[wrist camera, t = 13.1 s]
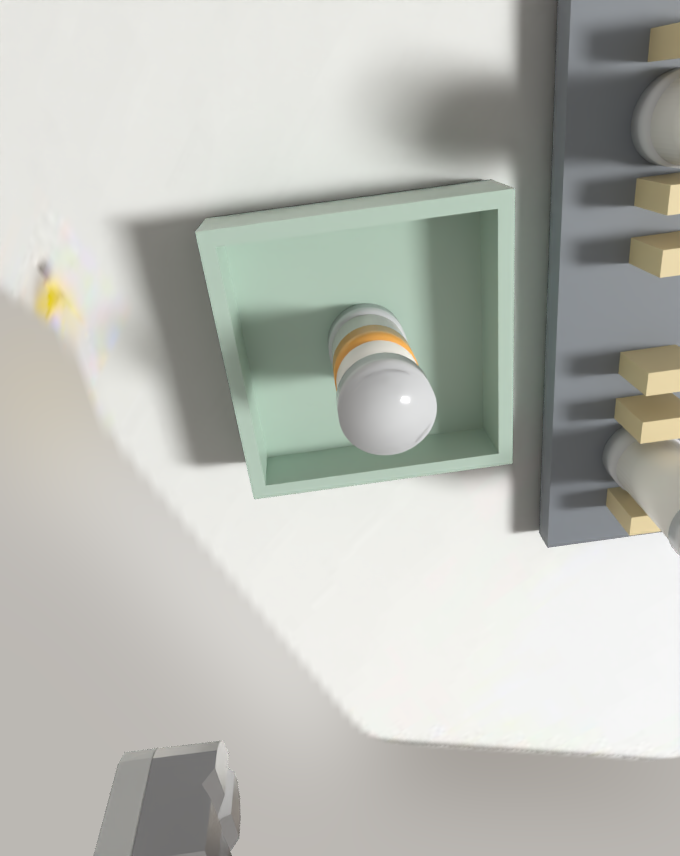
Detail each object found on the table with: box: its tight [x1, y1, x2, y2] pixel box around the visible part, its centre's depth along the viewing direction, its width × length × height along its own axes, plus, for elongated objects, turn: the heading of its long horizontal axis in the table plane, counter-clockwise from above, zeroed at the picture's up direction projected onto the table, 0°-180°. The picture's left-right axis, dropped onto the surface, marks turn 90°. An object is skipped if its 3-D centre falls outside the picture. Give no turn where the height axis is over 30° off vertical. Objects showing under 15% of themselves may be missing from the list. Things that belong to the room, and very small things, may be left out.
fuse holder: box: [539, 0, 680, 548], centre depth 25 cm, size 24×8×4 cm, turn 7°
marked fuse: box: [328, 303, 437, 455], centre depth 23 cm, size 3×3×7 cm
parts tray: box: [195, 179, 515, 499], centre depth 26 cm, size 11×11×3 cm
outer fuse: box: [602, 427, 680, 556], centre depth 26 cm, size 3×3×7 cm
